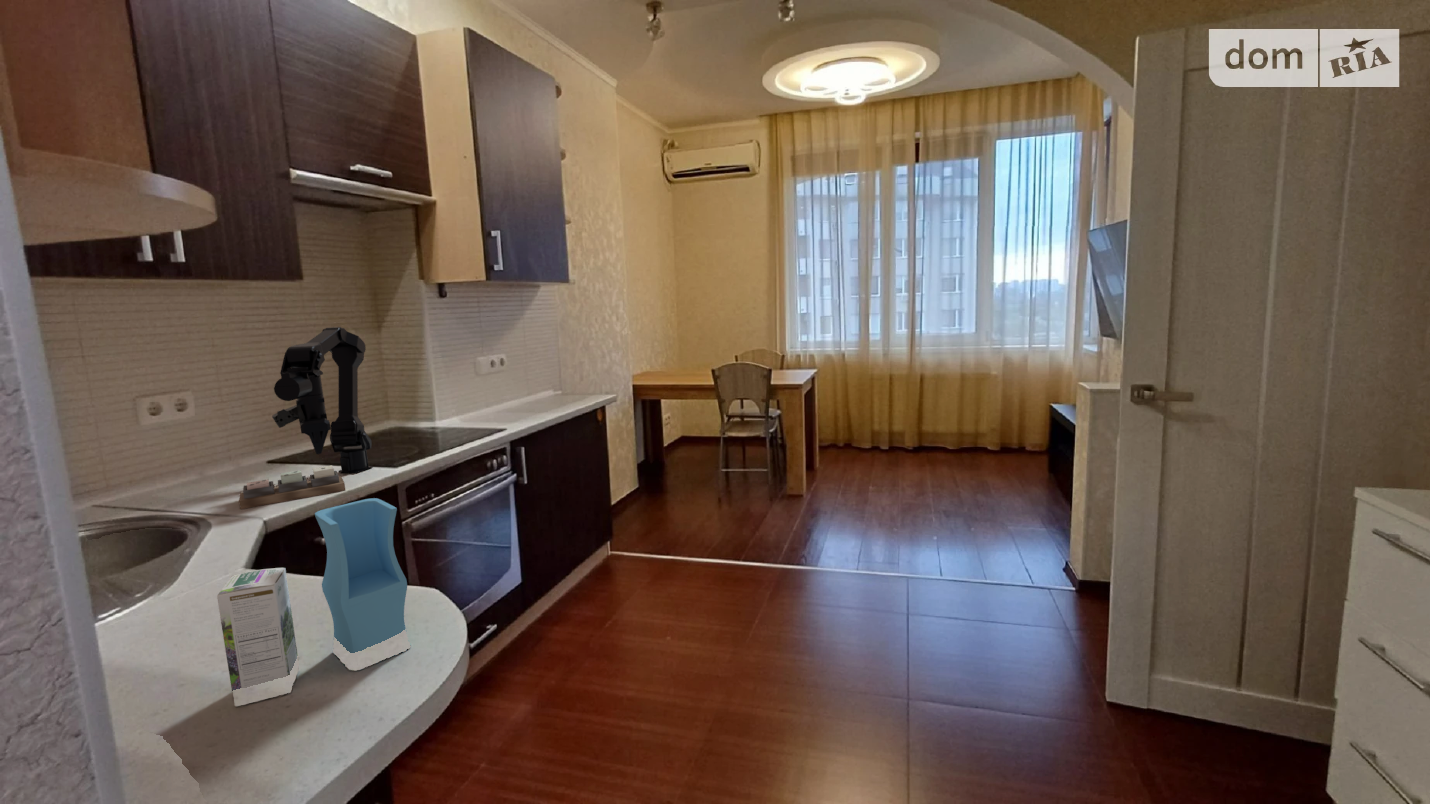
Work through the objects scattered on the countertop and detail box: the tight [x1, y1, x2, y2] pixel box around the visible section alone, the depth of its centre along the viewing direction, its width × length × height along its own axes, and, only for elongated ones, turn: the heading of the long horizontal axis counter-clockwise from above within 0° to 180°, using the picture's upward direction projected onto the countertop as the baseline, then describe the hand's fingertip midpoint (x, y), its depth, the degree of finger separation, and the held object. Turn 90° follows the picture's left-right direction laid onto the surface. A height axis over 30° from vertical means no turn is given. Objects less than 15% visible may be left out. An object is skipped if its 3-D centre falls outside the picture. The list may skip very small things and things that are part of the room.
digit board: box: [238, 470, 346, 510], centre depth 158 cm, size 22×9×4 cm, turn 126°
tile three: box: [246, 478, 270, 490], centre depth 153 cm, size 4×4×2 cm
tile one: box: [312, 465, 335, 479], centre depth 161 cm, size 4×4×2 cm
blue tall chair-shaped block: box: [314, 497, 408, 653], centre depth 82 cm, size 8×8×20 cm
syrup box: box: [216, 567, 299, 692], centre depth 75 cm, size 6×6×14 cm
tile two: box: [279, 470, 303, 484], centre depth 157 cm, size 4×4×2 cm
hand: (318, 453), depth 160 cm, fingers closed
